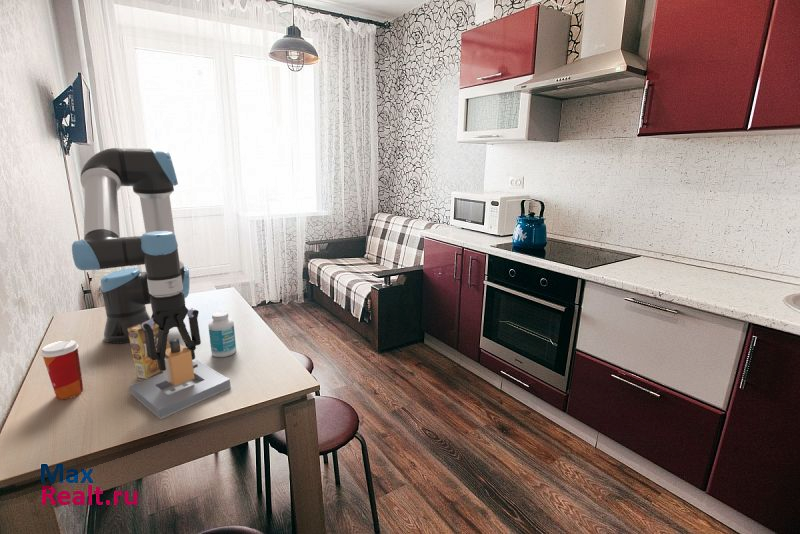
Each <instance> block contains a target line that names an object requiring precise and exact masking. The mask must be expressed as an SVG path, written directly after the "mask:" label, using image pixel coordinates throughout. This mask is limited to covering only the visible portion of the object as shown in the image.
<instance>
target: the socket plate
mask: <svg viewBox="0 0 800 534" xmlns="http://www.w3.org/2000/svg"><path fill="white" fill-rule="evenodd" d="M192 362H193V369H194V377H195V378H194V379H191V380H189V381H187V382H184V383H182V384H179V385H177V386H175V385H173V384H172V383H170V382H168V381H166V380H165V379H164V374H163V372H162V373H158V374H155V375H153V376H151V377H150V378H148V379H142V380H141V381H138V382H135V383H132V384H130V385H129V389H130V394H131V395H132V396H133V397H134V398H135V399H137V401H139V402H140V403H141V404H142V405H144V407H146V408H147V409H148V410H149V411H150V412H152V413H153V414H154V415H155V416H156V417H157V418H158V419H160V420H162V419H165V418H168V417H170V416H171V415H174V414H176V413H178V412H181V411H182V410H185V409H187V408H189V407H191V406H193V405H196V404H198V403H199V402H202V401H203V400H207V399H208V398H211V397H213V396H215V395H218V394H219V393H221V392H223V391H226V390H228V389H230V388H231V387H232V386H231V380H230V378H229V377H227V376H225V375H223V374H221V373H220V372H218V371H216V370H215V369H213V368H211V367H210V366H208V365H206V364H205V363H203V362H201V361H200V360H198V359H197V360H196V359H195V360H194V361H192Z"/></svg>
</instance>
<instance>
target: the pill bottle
mask: <svg viewBox="0 0 800 534" xmlns="http://www.w3.org/2000/svg"><path fill="white" fill-rule="evenodd" d="M211 318H212V320H211V321H210V322H209V323H208V326H207V327H208V334H209V343H210V352H211V355H212V356H213V357H214V358H226V357H229V356H232V355H234V354H235V353H236V351H237V343H236V334H235V325H234V320H233V319H232V318H229V312H228V311H217V312H213V313H212V314H211Z"/></svg>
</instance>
